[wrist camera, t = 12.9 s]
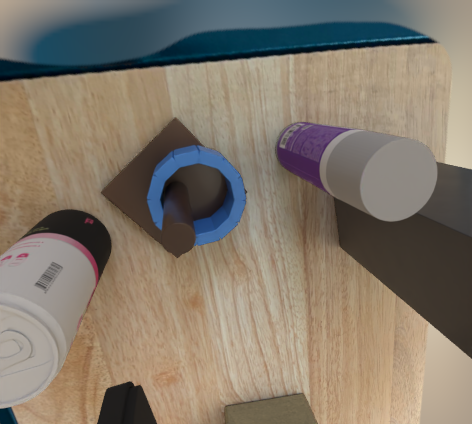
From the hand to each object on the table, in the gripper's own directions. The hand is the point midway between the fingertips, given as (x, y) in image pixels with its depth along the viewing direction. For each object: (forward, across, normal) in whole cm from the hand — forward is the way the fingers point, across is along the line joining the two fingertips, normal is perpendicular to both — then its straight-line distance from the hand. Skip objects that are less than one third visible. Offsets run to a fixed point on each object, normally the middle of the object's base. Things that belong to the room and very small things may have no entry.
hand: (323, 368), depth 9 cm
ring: (+23, +2, 0) cm, 23 cm away
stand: (+24, +4, 0) cm, 24 cm away
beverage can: (+24, +14, +2) cm, 28 cm away
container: (+24, -8, -1) cm, 25 cm away
